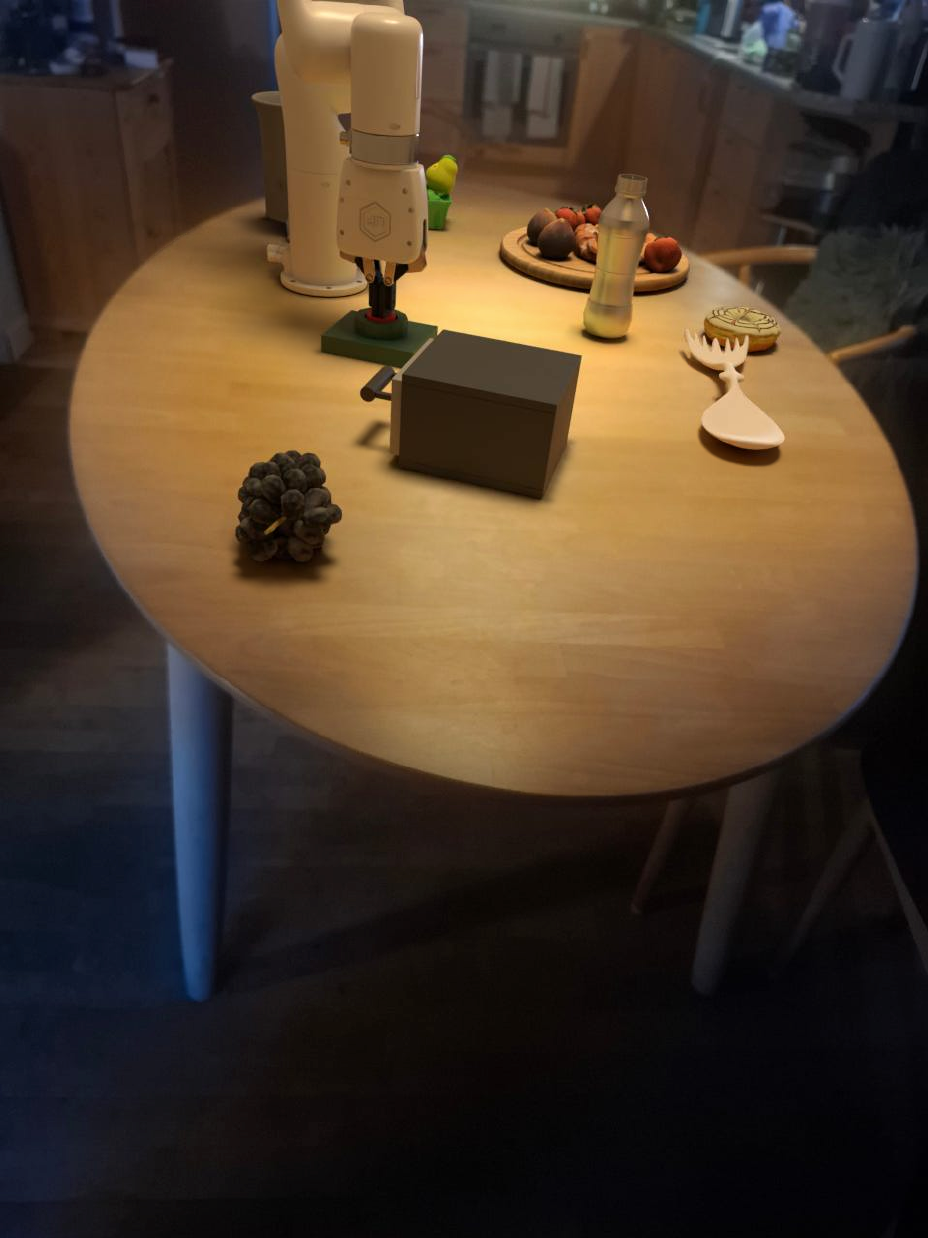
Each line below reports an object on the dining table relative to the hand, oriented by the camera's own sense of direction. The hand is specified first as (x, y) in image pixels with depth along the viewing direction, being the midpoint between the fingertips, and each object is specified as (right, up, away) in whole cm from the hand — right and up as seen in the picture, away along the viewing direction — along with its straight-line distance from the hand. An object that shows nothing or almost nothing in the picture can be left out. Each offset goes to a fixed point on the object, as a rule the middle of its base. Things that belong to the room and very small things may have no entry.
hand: (382, 313), depth 107 cm
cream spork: (+42, -11, -1) cm, 44 cm away
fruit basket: (+4, +35, +51) cm, 62 cm away
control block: (0, -3, +3) cm, 4 cm away
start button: (0, -1, +1) cm, 2 cm away
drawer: (+9, -19, -17) cm, 27 cm away
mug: (-18, +30, +42) cm, 54 cm away
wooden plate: (+32, +22, +39) cm, 55 cm away
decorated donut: (+49, +2, +16) cm, 52 cm away
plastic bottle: (+30, +2, +13) cm, 33 cm away
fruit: (-5, -30, -31) cm, 44 cm away
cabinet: (+13, -21, -17) cm, 30 cm away
